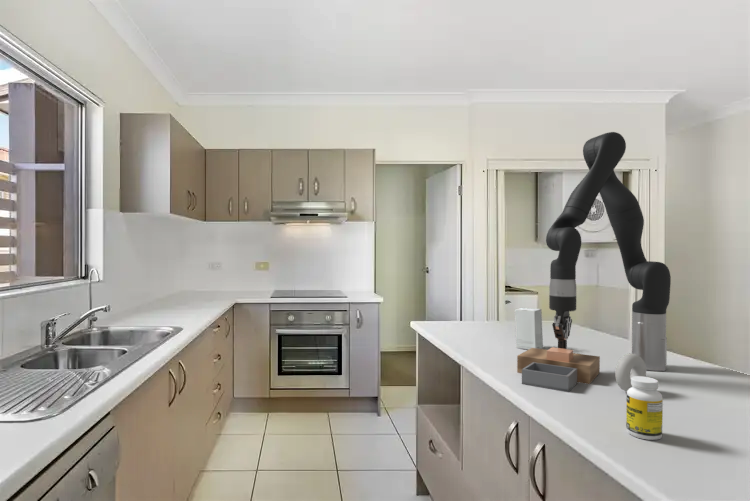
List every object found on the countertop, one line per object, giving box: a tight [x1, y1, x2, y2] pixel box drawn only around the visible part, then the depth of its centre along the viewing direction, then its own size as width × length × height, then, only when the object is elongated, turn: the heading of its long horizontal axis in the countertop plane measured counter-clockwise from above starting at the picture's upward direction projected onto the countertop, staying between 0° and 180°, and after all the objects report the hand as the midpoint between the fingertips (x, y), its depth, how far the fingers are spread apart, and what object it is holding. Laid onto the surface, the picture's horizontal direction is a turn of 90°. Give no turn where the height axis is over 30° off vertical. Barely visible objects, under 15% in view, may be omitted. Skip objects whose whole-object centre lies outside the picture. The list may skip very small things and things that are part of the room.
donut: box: [614, 352, 647, 393], centre depth 120 cm, size 10×3×10 cm, turn 117°
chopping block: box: [516, 348, 601, 385], centre depth 138 cm, size 20×14×5 cm
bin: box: [521, 362, 578, 393], centre depth 127 cm, size 12×10×4 cm
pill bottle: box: [625, 376, 664, 441], centre depth 92 cm, size 6×6×11 cm
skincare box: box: [514, 307, 544, 351], centre depth 172 cm, size 8×6×15 cm
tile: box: [546, 347, 574, 362], centre depth 134 cm, size 6×6×2 cm
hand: (562, 352), depth 138 cm, fingers closed
